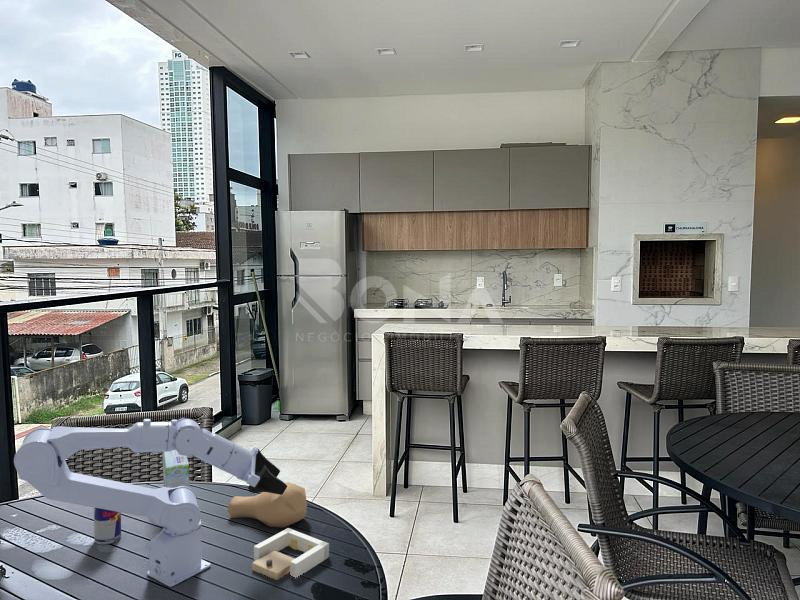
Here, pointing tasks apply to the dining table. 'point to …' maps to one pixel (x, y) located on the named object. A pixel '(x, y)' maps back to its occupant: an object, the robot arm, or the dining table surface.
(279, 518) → the squash
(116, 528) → the energy drink
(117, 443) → the robot arm
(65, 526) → the dining table surface
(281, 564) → the door panel
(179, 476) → the snack box
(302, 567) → the cabinet frame
